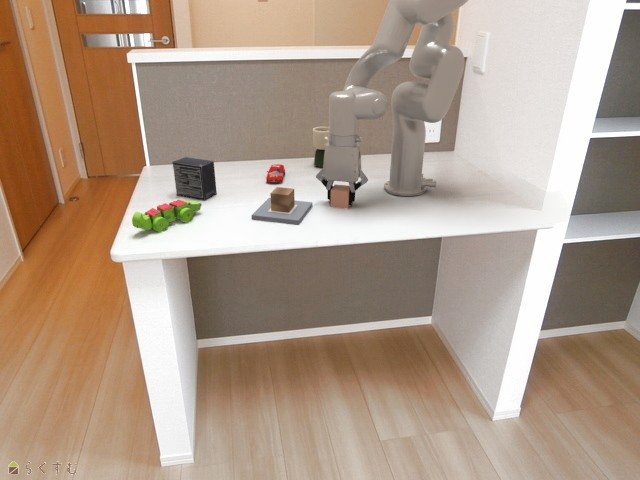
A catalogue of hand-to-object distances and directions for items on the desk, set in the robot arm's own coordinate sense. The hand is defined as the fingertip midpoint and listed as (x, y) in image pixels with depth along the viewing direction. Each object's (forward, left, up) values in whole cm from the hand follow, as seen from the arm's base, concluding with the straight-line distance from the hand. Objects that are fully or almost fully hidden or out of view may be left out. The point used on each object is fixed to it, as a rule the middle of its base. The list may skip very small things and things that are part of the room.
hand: (341, 202), depth 141 cm
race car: (+26, -17, -1) cm, 31 cm away
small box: (+43, +4, -1) cm, 43 cm away
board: (+14, +10, -1) cm, 17 cm away
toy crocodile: (+40, +24, -1) cm, 47 cm away
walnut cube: (+14, +10, +1) cm, 17 cm away
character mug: (+14, -33, -1) cm, 36 cm away
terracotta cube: (0, 0, -1) cm, 1 cm away
